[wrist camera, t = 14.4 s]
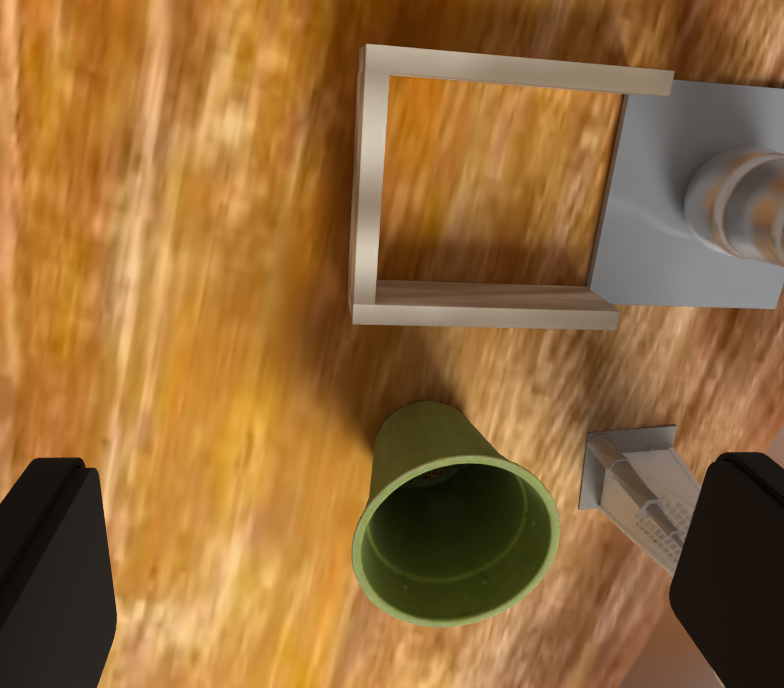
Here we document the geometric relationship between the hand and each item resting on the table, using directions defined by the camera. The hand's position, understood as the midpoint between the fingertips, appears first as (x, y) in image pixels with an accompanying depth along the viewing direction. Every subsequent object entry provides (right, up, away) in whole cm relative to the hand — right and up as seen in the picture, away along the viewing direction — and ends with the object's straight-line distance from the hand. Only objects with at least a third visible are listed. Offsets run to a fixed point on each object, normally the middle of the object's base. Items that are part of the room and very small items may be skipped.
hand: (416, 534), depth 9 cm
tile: (+20, +12, +31) cm, 39 cm away
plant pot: (+2, -4, +35) cm, 36 cm away
